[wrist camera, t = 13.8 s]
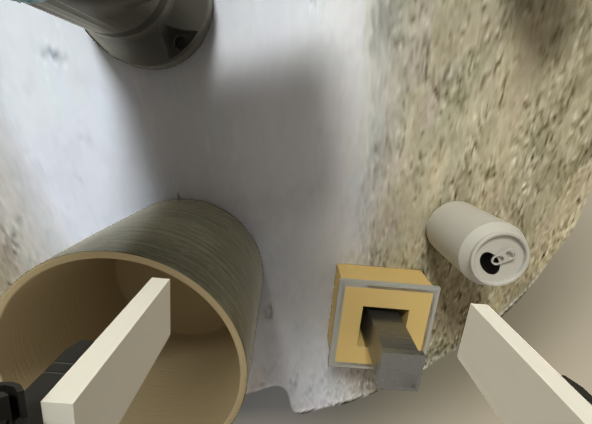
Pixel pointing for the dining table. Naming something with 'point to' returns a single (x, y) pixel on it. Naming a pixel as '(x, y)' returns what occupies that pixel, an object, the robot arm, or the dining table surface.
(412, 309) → the tan hollow block
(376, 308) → the wedge pin
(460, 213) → the can
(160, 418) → the planter
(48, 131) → the dining table surface
